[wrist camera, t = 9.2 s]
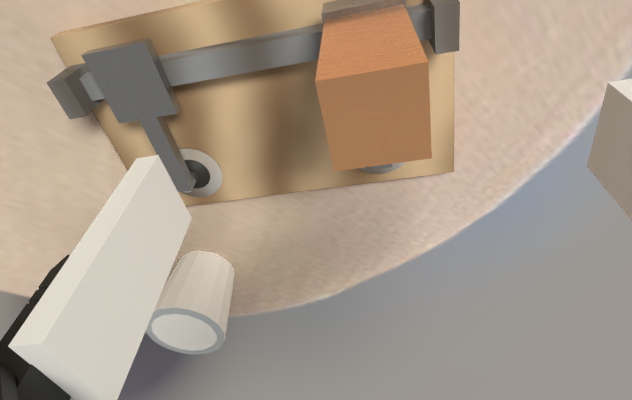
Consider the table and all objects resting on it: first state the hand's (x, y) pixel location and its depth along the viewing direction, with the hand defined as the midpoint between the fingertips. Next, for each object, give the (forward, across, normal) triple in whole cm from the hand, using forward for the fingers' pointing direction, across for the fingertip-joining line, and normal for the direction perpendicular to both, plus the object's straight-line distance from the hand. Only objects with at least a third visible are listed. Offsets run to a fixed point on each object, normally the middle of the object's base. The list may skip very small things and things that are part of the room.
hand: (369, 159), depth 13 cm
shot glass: (+16, -17, -20) cm, 31 cm away
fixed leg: (+14, -13, -4) cm, 20 cm away
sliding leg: (+14, +1, -4) cm, 14 cm away
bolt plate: (+15, -6, -4) cm, 17 cm away
